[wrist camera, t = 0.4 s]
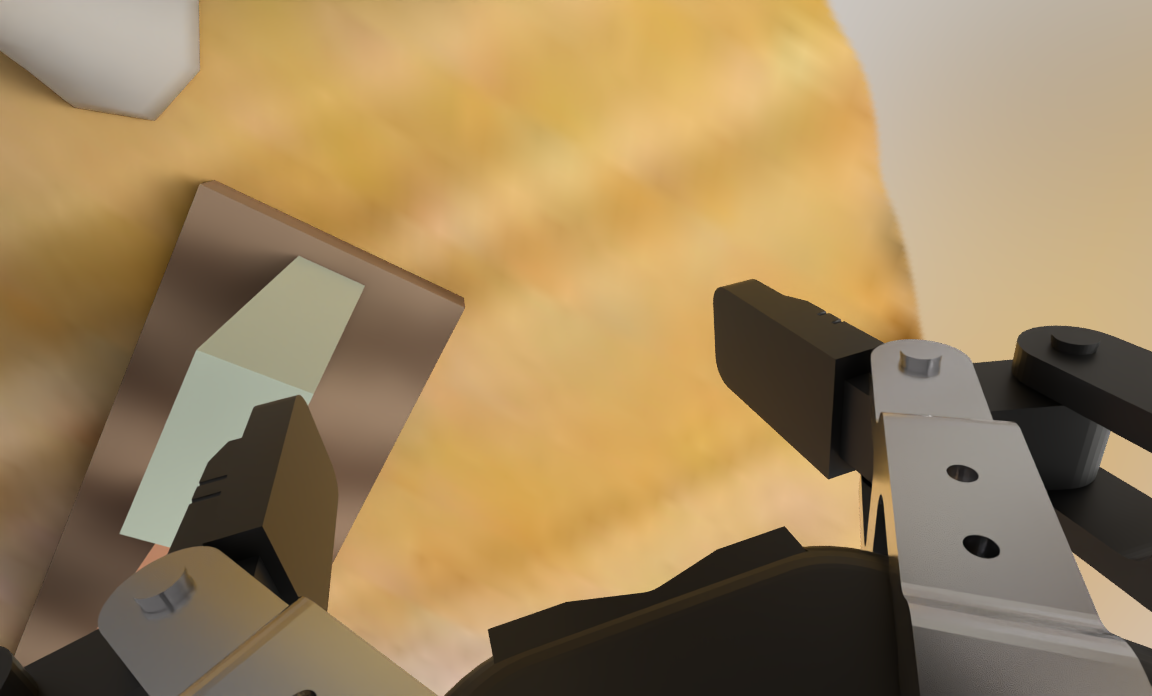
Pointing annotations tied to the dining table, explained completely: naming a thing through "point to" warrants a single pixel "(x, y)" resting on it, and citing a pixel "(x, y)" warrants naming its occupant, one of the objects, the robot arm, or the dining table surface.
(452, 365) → the dining table surface
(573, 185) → the dining table surface
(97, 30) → the flask
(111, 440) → the brown wooden flat board
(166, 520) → the sage tab
